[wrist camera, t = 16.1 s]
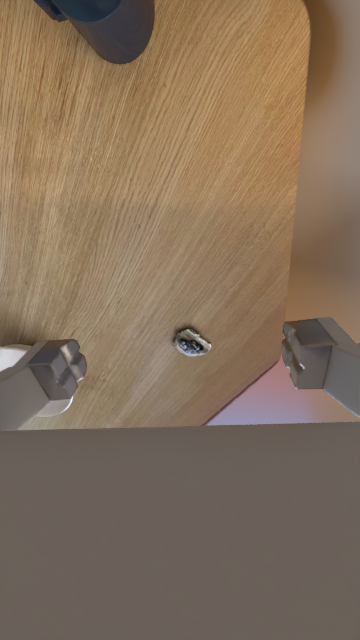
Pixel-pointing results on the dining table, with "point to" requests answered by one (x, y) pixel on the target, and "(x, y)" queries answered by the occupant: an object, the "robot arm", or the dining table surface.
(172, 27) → the dining table surface
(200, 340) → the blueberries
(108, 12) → the mug
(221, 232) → the dining table surface
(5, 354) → the bowl
